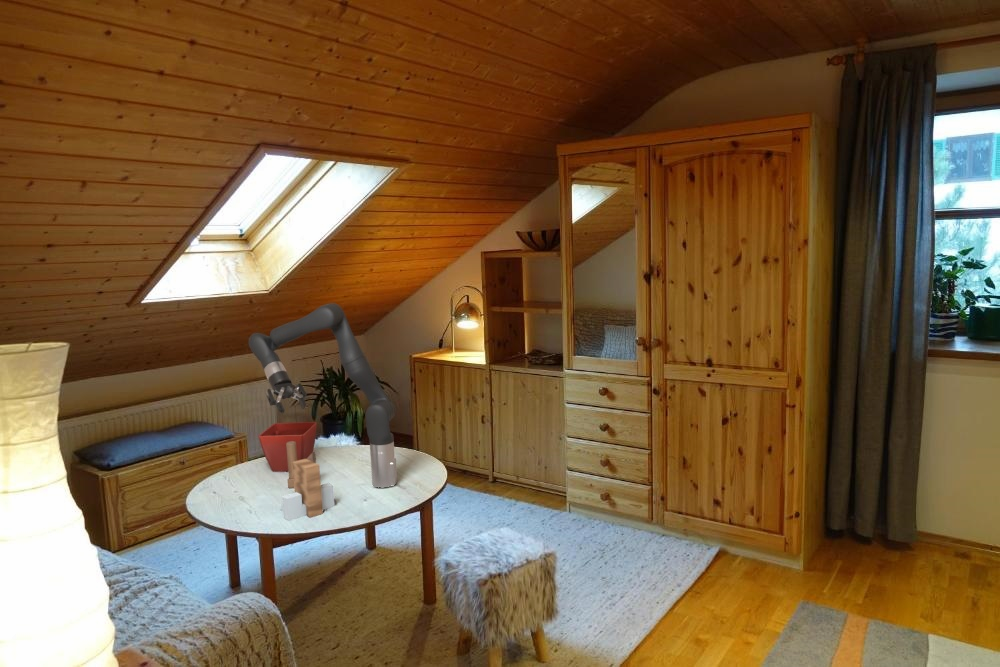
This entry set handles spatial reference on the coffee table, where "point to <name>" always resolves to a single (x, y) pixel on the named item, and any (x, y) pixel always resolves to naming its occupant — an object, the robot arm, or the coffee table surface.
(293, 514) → the white notched u-shaped brace
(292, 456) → the brown notched handled part
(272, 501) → the coffee table surface
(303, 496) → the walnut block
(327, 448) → the coffee table surface
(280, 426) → the plant pot
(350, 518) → the coffee table surface
